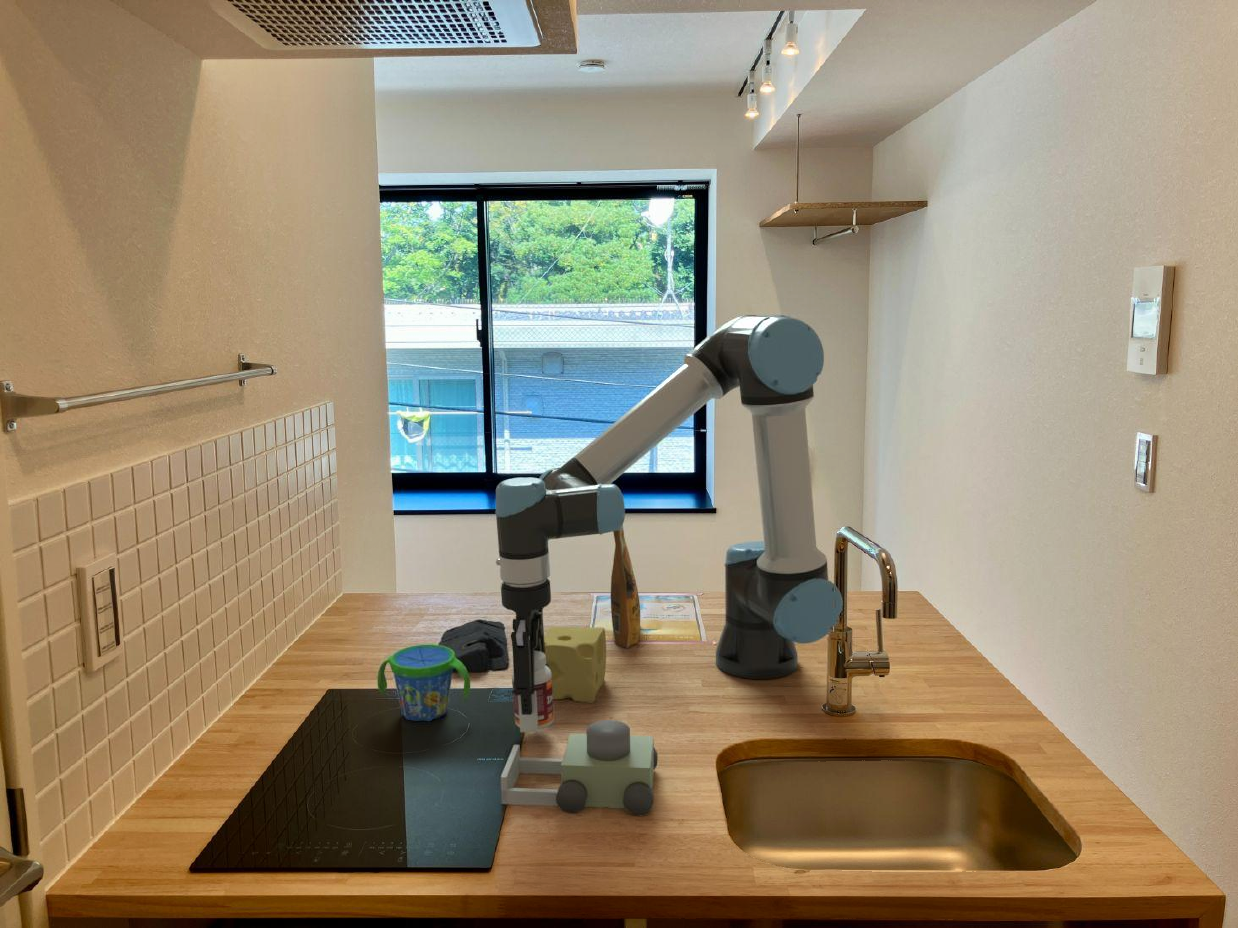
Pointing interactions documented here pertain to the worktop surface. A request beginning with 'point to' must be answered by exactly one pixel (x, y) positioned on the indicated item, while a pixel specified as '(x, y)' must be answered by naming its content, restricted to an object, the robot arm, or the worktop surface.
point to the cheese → (576, 661)
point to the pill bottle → (539, 692)
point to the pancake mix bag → (624, 595)
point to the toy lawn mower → (590, 772)
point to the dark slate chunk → (478, 645)
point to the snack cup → (423, 680)
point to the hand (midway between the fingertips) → (533, 720)
